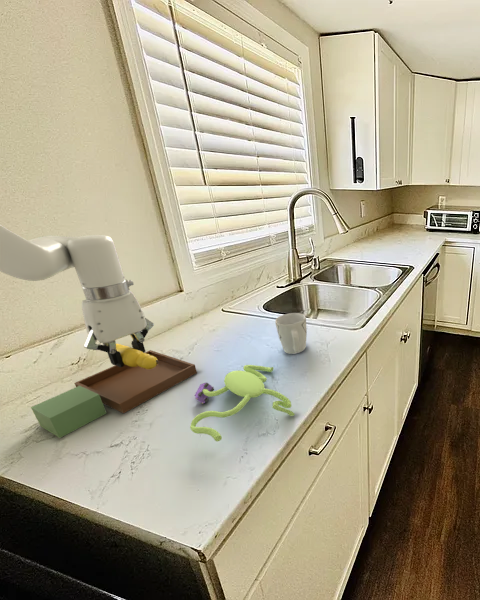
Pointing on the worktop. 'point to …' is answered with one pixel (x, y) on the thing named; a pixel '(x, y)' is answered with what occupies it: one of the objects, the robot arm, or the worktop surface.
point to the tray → (137, 381)
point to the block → (69, 411)
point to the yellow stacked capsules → (136, 357)
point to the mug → (292, 332)
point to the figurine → (241, 385)
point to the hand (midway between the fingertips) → (129, 360)
